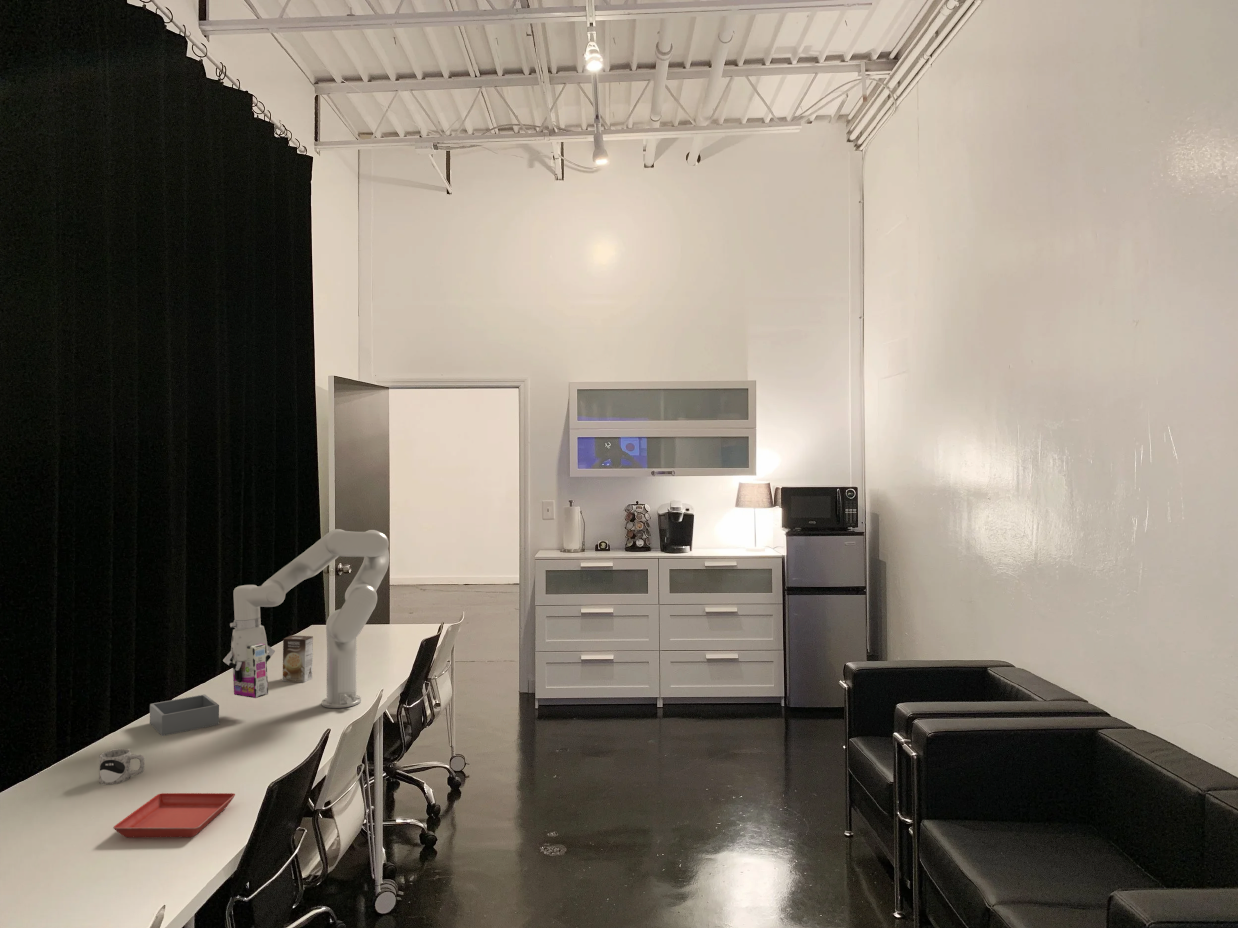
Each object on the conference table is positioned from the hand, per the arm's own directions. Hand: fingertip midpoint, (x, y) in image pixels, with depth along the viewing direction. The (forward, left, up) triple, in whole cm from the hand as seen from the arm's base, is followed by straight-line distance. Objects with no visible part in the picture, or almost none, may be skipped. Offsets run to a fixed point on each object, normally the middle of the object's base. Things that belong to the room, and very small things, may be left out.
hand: (250, 678), depth 250 cm
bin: (+4, +18, -12) cm, 22 cm away
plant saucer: (-70, +37, -12) cm, 80 cm away
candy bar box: (0, 0, -5) cm, 5 cm away
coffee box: (+32, -27, -12) cm, 44 cm away
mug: (-33, +41, -12) cm, 54 cm away
